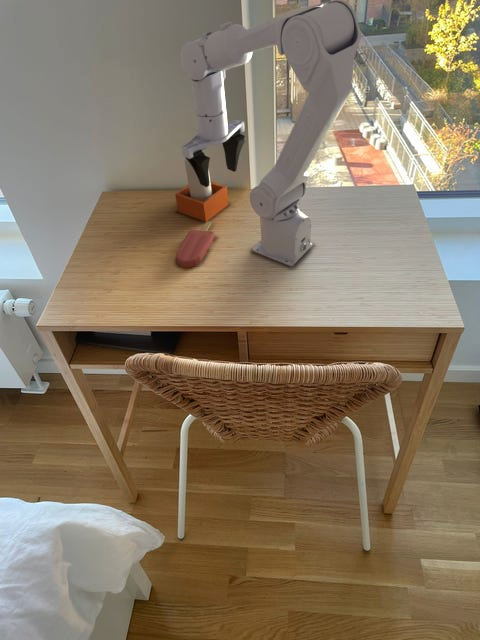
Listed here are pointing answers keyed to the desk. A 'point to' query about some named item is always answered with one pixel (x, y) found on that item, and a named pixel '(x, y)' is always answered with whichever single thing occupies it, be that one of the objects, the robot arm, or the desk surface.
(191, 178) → the beverage can
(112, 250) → the desk surface
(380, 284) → the desk surface
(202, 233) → the popsicle
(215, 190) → the orange open box
